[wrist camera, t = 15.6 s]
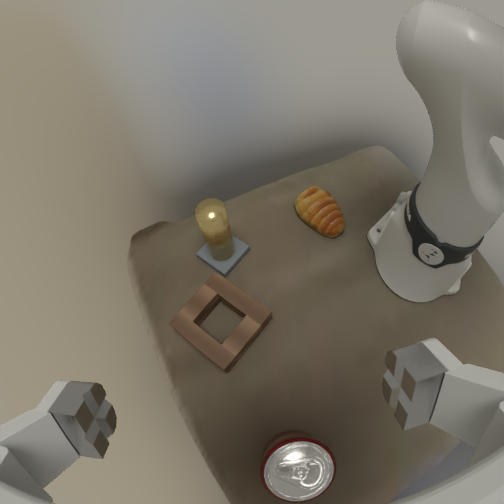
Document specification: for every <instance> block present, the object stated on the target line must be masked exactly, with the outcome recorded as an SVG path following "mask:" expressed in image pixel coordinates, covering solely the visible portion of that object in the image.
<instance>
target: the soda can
mask: <svg viewBox="0 0 504 504" xmlns="http://www.w3.org/2000/svg"><path fill="white" fill-rule="evenodd" d="M335 473H336V462H335V458H334V456H333V454H332V452H331V451H330V450H329V448H328V447H327V446H325V445H324V444H323V443H321V442H320V441H318V440H317V439H315V438H314V437H312V436H311V435H309V434H307V433H305V432H302V431H297V430H290V431H285V432H282V433H280V434H278V435H276V436H275V437H273V438H272V439H271V440H270V442H269V443H268V444H267V446H266V448H265V452H264V456H263V461H262V465H261V479H262V483H263V485H264V487H265V488H266V489H267V491H268V492H269V493H270V494H271V495H273V496H274V497H276V498H278V499H280V500H282V501H286V502H293V503H298V502H305V501H309V500H312V499H314V498H316V497H318V496H320V495H321V494H323V493H324V492H325V491H326V490H327V489H328V488H329V486H330V485H331V484H332V482H333V480H334V477H335Z"/></svg>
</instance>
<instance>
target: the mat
mask: <svg viewBox="0 0 504 504" xmlns="http://www.w3.org/2000/svg"><path fill="white" fill-rule="evenodd" d="M232 237H233V241H234V245H235V252H234V254H233V256H232V257H231V258H230V259H228V260H226V261H217V260H215V259H213V258H212V257H211V255H210V252H209V250H208V247H207V245H206V244H205V245H204V246H203V247H202V248H201V249H200V250H199V251H198V252H197V253H196V255H197V257H198V258H200V259H201V260H202V261H204V262H205V263H207V264H208V265H209V266H211V267H212V268H213V269H215V270H216V271H218V272H219V273H220V274H222V275H223V276H225V277H226V276H227V275H228V274H229V273H230V272H231V271H232V269H233V268H234V267H235V266H236V265H237V264H238V263H239V261H240V260H241V259H242V258H243V257H244V256H245V255H246V254H247V252H248V251H249V250H250V246H248V245H247V244H245V243H244V242H242V241H241V240H239V239H237V238H236V237H234V236H233V235H232Z"/></svg>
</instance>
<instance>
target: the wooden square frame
mask: <svg viewBox="0 0 504 504" xmlns="http://www.w3.org/2000/svg"><path fill="white" fill-rule="evenodd" d="M220 301H221V302H223V303H224V304H225V305H227V306H228V307H229V308H231V309H232V310H233V311H235V312H236V313H237V314H239V315H240V316H241V317H243V318H244V319H243V320H242V321H241V322H240V323H239V325H238V326H237V327H236V328H235V329H234V331H233V332H232V333H231V334H230V335H229V337H228V338H227V339H226V340H225V341H224V342H223V344H222V345H221V344H220V343H219V342H217V341H216V340H215V339H214V338H212V337H211V336H210V335H209V334H207V333H206V332H205V331H204V330H202V329H201V328H200V327H199V325H200V324H201V323H202V322H203V321H204V319H205V318H206V317H207V316H208V315H209V314H210V313H211V311H212V310H213V309H214V308H215V307H216V306H217V305H218V303H219V302H220ZM271 319H272V311H270V310H269V309H268V308H266V307H265V306H263V305H262V304H260V303H259V302H257V301H256V300H255V299H253V298H252V297H250V296H249V295H248V294H246V293H245V292H243V291H242V290H241V289H239V288H238V287H236V286H235V285H233V284H232V283H231V282H229V281H228V280H227V279H225V278H224V277H222V276H221V275H220V274H218V273H217V272H215V273H214V274H213V275H212V276H211V277H210V278H209V279H208V280H207V281H206V283H205V284H204V285H203V286H202V287H201V288H200V289H199V290H198V292H197V293H196V294H195V295H194V296H193V297H192V298H191V299H190V300H189V302H188V303H187V304H186V305H185V306H184V307H183V308H182V309H181V311H180V312H179V313H178V314H177V315H176V316H175V317H174V318H173V320H172V321H171V322H170V323H169V324H170V325H171V326H172V327H173V328H174V329H175V330H176V331H178V332H179V333H180V334H181V335H182V336H183V337H184V338H186V339H187V340H188V341H189V342H190V343H191V344H193V345H194V346H195V347H196V348H197V349H199V350H200V351H201V352H202V353H203V354H205V355H206V356H207V357H208V358H209V359H211V360H212V361H213V362H214V363H216V364H217V365H218V366H219V367H221V368H222V369H223V370H224V371H226V372H227V373H228V372H229V370H230V369H231V368H232V367H233V366H234V364H235V363H236V362H237V361H238V360H239V358H240V357H241V356H242V355H243V354H244V352H245V351H246V350H247V349H248V348H249V346H250V345H251V344H252V343H253V341H254V340H255V339H256V338H257V336H258V335H259V334H260V333H261V331H262V330H263V329H264V328H265V326H266V325H267V324H268V323H269V321H270V320H271Z"/></svg>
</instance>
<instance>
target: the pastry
mask: <svg viewBox="0 0 504 504" xmlns="http://www.w3.org/2000/svg"><path fill="white" fill-rule="evenodd" d="M294 205H295V208H296V211H297V213H298V215H299V216H300V218H301V219H302V220H303V221H304V222H305V223H306V224H308V225H309V226H310V227H311V228H313V229H314V230H316V231H317V232H318V233H320V234H321V235H323V236H326V237H329V238H334V237H336V236H338V235H339V234H340V233H341V232H342V231H343V230H344V227H345V222H344V219H343V214H342V213H341V212H340V208H339V206H338V205H337V202H336V201H335V200H334V198H332V197H331V195H330V193H329V192H327V191H323V190H322V189H321V188H319V187H318V186H313V187H310V188H308V189H306V190H305V191H304V192H302V193H301V194H300V195H299V196H298V197H297V199H296V201H295V203H294Z"/></svg>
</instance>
